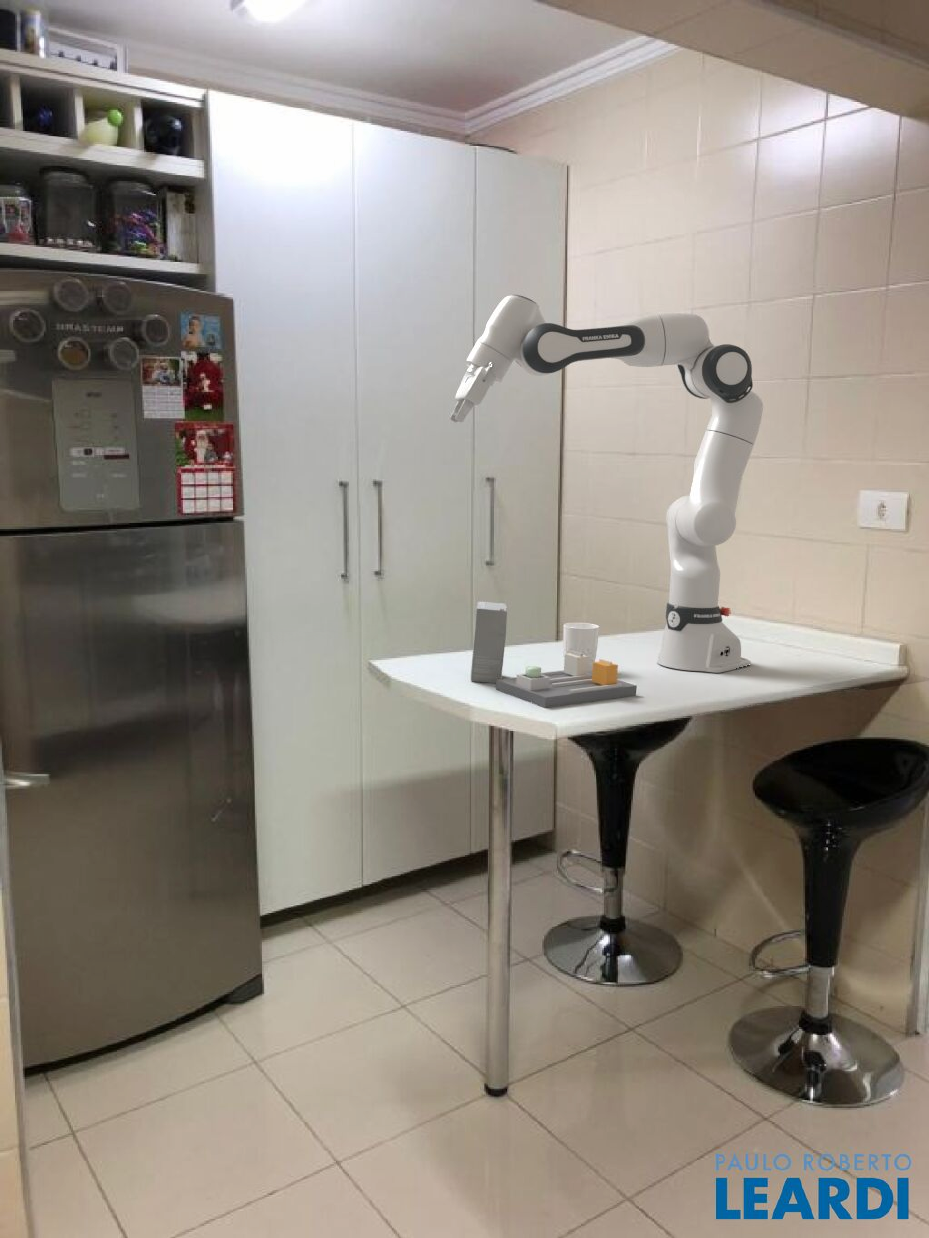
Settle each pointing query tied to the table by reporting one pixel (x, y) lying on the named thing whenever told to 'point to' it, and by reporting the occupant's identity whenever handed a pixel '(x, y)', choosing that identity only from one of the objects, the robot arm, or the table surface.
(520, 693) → the panel
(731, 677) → the table surface
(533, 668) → the button
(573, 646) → the white cup
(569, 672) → the slider
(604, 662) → the slider
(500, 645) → the skincare box
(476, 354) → the robot arm
